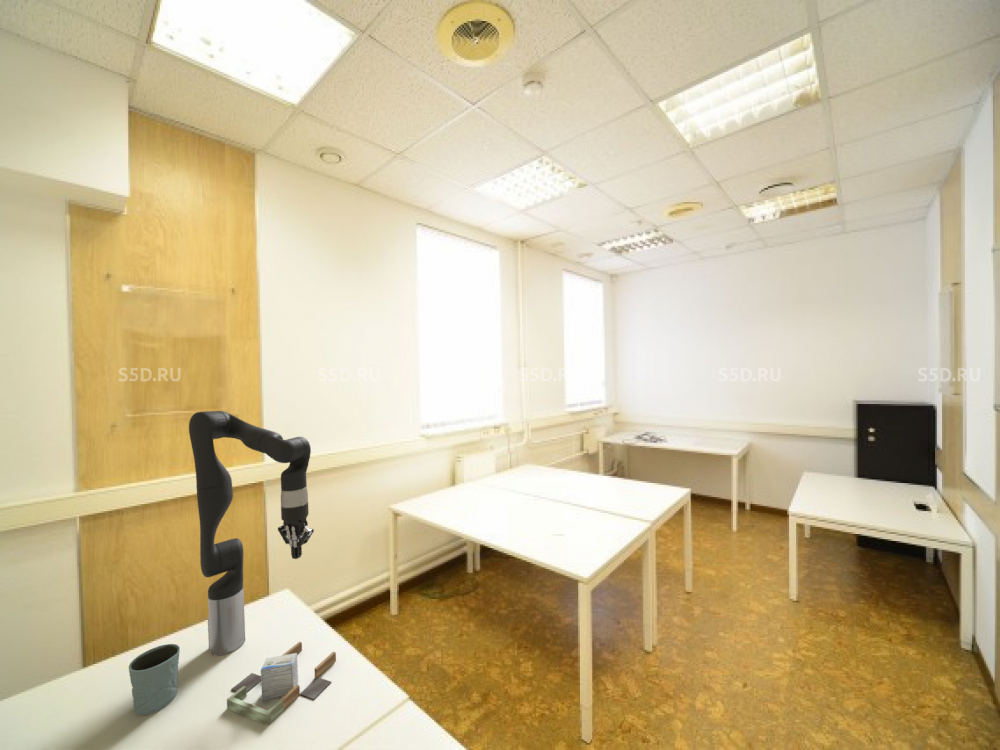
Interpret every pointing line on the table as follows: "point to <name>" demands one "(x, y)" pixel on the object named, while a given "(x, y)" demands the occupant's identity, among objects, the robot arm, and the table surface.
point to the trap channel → (268, 716)
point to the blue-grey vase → (154, 678)
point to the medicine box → (279, 676)
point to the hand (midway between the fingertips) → (296, 557)
